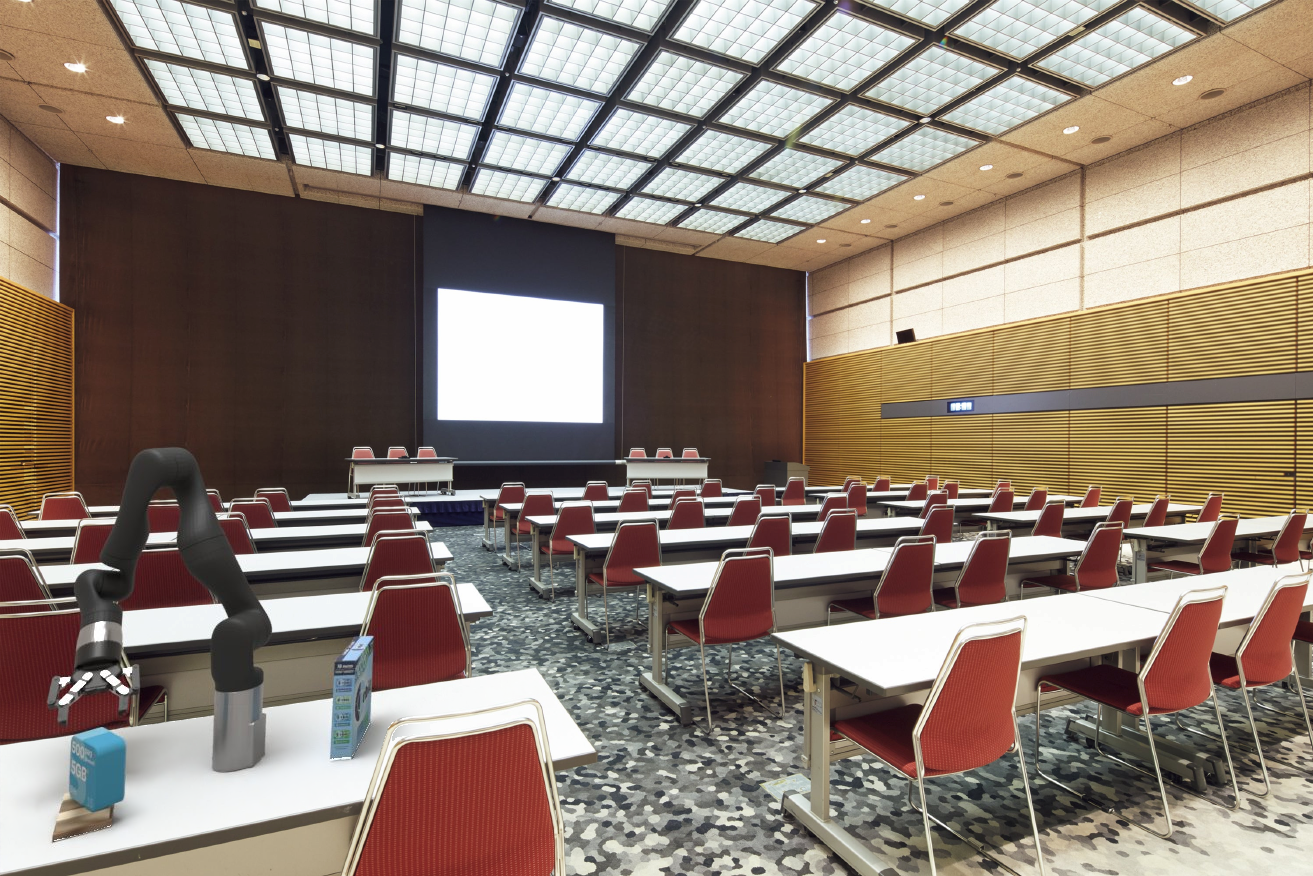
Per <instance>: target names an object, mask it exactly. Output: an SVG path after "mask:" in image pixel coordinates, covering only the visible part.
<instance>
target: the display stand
mask: <svg viewBox="0 0 1313 876" xmlns="http://www.w3.org/2000/svg"><path fill="white" fill-rule="evenodd" d="M114 809H115V804H113V805H110V806H108V807H105V808H103V809H100V810H97V811H95V812H92V811H90V810H89V809H87V808H86V807H84V806H83V805H81V804H80V803H79V802H77V801H76V800H74V799H73V798H72V797H71V796H70V793H69V792H65V793H64V794H63V798H62V802H61V804H60V808H59V811H58V814H57V819H56V822H55V825H54V828H53V829H54V830H53V831H52V832H53V833H52V834H51V835H52V837H51V838H52V840H51V842H52V841H54V840H57V839H62V838H67V837H70V836H74V835H78V836H80V835H79V834H82V835H84V834H83V833H86V832H89V833H91V832H90V831H93V832H95V831H94V830H97V829H101V828H104V827H107V826H110V825H111V824H113V818H114V811H113V810H114ZM112 817H113V818H112ZM111 826H112V825H111ZM104 829H105V828H104ZM101 830H102V829H101ZM97 831H98V830H97ZM86 834H87V833H86ZM74 837H75V836H74ZM70 838H71V837H70ZM67 839H68V838H67Z"/></svg>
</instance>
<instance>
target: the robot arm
mask: <svg viewBox="0 0 1313 876" xmlns="http://www.w3.org/2000/svg"><path fill="white" fill-rule="evenodd" d="M167 488H170V490H171V492H172V493H173V495H174V498H175V500H176V502H177V505H178V509H179V521H178V525H177V531H176V532H177V533H176V547H177V550H178V553H179V555H180V557H181V559H182V561H183V563H184V565H185V567H186V570H187V571H188V572H189V574H190V575H191V576H192V577H193V578H194V579H195V580H196V581H197V582H198V583H200V584H201V585H202V586H203V587H204V588H205V589H207V590H208V591H209V592H211V593H212V594H213V595H214V596H215V597H216V598H217V599H218V601H219V602H220V604H221V606H222V607H223V610H224V611H225V613H226V616H227V618H225V619H222V620H221V621H220V622H219V623H217V624H216V626H215V627H214V629H213V630H212V634H211V638H210V674H211V678H212V679H213V681H214V701H213V702H214V703H213V704H214V705H213V727H212V728H213V729H212V731H213V733H212V752H211V753H212V754H211V755H212V756H211V768H212V769H213V771H216V772H221V773H222V772H223V773H224V772H225V773H226V772H235V771H238V770H239V771H240V770H242V769H246V768H253V767H254V766H255V765H256V764H257V763H258V762H259V761H260V760H261V759H262V758H263V757H264V755H265V754H266V734H267V733H266V731H267V728H266V727H267V713H266V712H264V713H263V704H264V702H263V701H264V700H263V699H264V697H263V696H264V677H265V675H264V670H263V668H261V667H259V666H254V663H255V661H254V651H256V650H258V649H260V648H262V647H264V646H265V645H267V643H269V641H270V639H271V638H272V636H273V635H272V634H273V625H272V621H271V620H270V617H269V614H267V612H266V610H265V608H264V607H263V604H262V603H261V602H260V600H259V599H258V597H257V596H256V594H255V593H254V591H253V590H252V587H251V585H250V583H249V582H248V579H247V577H246V576H245V574H244V571H243V570H242V568H241V565H240V563H239V561H238V559H237V557H236V555H235V551H234V550H233V548H232V545H231V544H230V540H229V539H228V537H227V535H226V532H225V531H224V528H223V527H222V525H221V522H220V521H219V518H218V516H217V514H216V511H215V508H214V506H213V504H212V502H211V500H210V497H209V494H208V491H207V489H206V486H205V482H204V479H203V476H202V473H201V470H200V467H199V464H198V462H197V460H196V458H195V457H194V455H193V454H192V453H191V452H190V451H189V450H187V449H185V448H183V447H153V448H147V449H143V450H142V451H140V452H138V453H137V454H136V455H135V456H134V458H133V459H132V462H131V463H130V467H129V470H128V474H127V477H126V482H125V486H124V489H123V492H122V497H121V501H120V505H119V509H118V513H117V516H116V519H115V522H114V524H113V527H112V529H111V530H110V533H109V535H108V537H107V539H106V541H105V542H104V545H103V548H102V549H101V550H100V551H101V552H100V553H99V561H100V563H102V564H103V565H105V566H107V567H109V568H111V570H109V569H100V568H99V569H98V568H89V569H86V570H83V571H82V572H81V573H80V574H78V576H77V577H76V579H75V581H74V585H73V592H74V593H73V594H74V597H75V601H76V603H77V604H78V608H79V612H80V616H81V617H80V627H79V632H78V633H79V634H78V637H77V641H76V648H75V657H74V667H73V668H74V669H73V673H72V675H71V676H68V677H61V676H59V675H54V676H53V677H52V679H51V683H50V688H49V691H48V695H47V701H46V702H47V708H48V710H58V713H57V724H58V725H59V726H60V725H61V728H65V727H68V722H69V721H68V720H69V711H70V709H69V708H70V706H72V705H73V704H74V703H75V702H77V701H78V700H79V699H80V698H81V697H82V696H83V695H85V696H93V695H95V694H105V693H106V692H108V691H110V692H111V693H113V694H114V695H116V696H118V697H119V698H118V717H123V716H124V714H126V713H127V712H128V710H129V709H128V708H129V698H130V697H132V696H138V695H139V694H140V689H141V688H140V687H141V686H140V685H141V684H140V683H141V682H140V665H139V664H137V663H136V664H135V663H134V664H133V665H132V666H131V667H127V668H122V666H121V665H122V656H123V655H122V651H123V645H124V643H123V638H124V637H123V618H124V617H123V615H124V611H123V608H122V606H121V605H120V604H118V603H117V602H122V601H125V600H126V599H128V598H129V597H130V596H131V595H132V593H133V591H134V588H135V581H136V580H135V578H136V576H135V575H136V569H137V564H138V562H139V560H140V556H141V554H142V553H143V550H144V548H145V547H146V544H147V543H148V540H149V536H150V535H151V534H150V533H151V524H150V519H149V505H150V503H151V501H152V500H153V498H154V496H155V495H156V493H157V491H158V490H160V489H167ZM112 569H114V570H112ZM124 675H125V676H126V677H127V678H128V679H131V687H126V686H124V685H123V683H122V681H120V679H121V678H122V677H123V676H124ZM68 684H70V685H71V686H72V687H71V688H70V690H68V693H66V694H65V695H64V696H63V697H62V698H61V699H59V694H60V690H64V689H65V688H66V686H67V685H68ZM261 757H262V758H261ZM252 766H253V767H252Z"/></svg>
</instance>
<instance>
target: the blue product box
mask: <svg viewBox="0 0 1313 876" xmlns="http://www.w3.org/2000/svg"><path fill="white" fill-rule="evenodd" d="M374 639H375V638H374V635H366V636H365V635H364V636H363V635H362V636H354V637H353V639H352V640H351V641H350V642H349V644H348V645H347V646H346V647H345V649H343V651H342V652H341V653H340V655H339V656H338V657H337V658H336V659H335V660H334V666H333V667H334V668H333V686H332V687H333V688H332V689H333V690H332V708H331V709H332V710H331V711H332V712H331V731H330V752H329V753H330V755H329V760H330V759H332V758H333V759H334V758H342V757H352V755H353V754H354V752H355V750H356V748H357V746H358V744H359V743H360V744H361V742H362V741H361V739H362V737H363V735H364V733H365V731H366V729H367V727H368V725H369V723H370V724H371V716H372V714H371V713H372V687H373V662H374V661H373V659H374V658H373V657H374ZM369 726H370V725H369ZM368 728H369V727H368ZM367 730H368V729H367ZM366 732H367V731H366ZM365 734H366V733H365ZM364 736H365V735H364ZM363 738H364V737H363ZM362 740H363V739H362ZM360 741H361V742H360ZM360 744H359V745H360ZM358 747H359V746H358ZM357 749H358V748H357ZM356 751H357V750H356ZM355 753H356V752H355ZM354 755H355V754H354Z"/></svg>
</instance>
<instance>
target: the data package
mask: <svg viewBox="0 0 1313 876" xmlns="http://www.w3.org/2000/svg"><path fill="white" fill-rule="evenodd" d="M69 756H70V757H69V775H68V776H69V777H68V779H69V781H68V793H70V796H71V797H72V798H73V799H74V800H76V801H77V802H79V803H80V804H81V805H83V806H84V807H86V808H87V809H89V810H90V811H92V812H95V811H97V810H100V809H103V808H105V807H108V806H110V805H113V804H114V805H115V804H118V803H121V802H122V801H124V799H125V796H126V795H125V794H126V792H125V791H126V770H127V769H126V768H127V766H126V765H127V741H126V739H125V738H124V737H122V736H121V735H118V734H116V733H115V732H113V731H111V730H109V729H107V728H106V727H102V726H101V727H96V728H93V729H91V730H86V731H83V732H80V733H76V734H74V735H73V736H72V737H71V740H70V755H69Z"/></svg>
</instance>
